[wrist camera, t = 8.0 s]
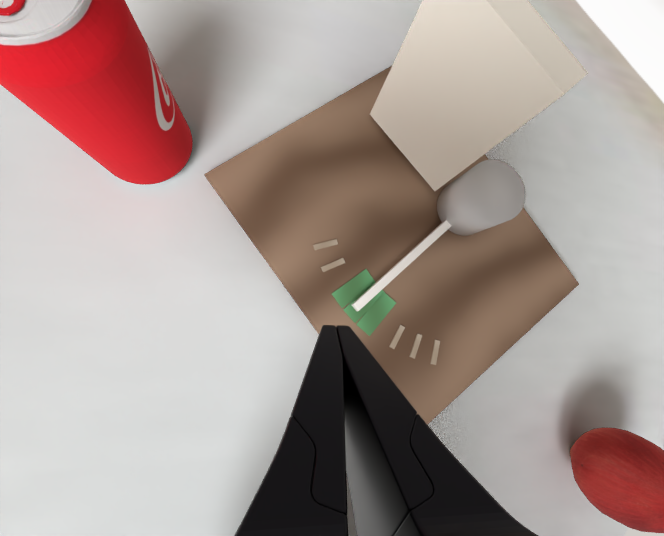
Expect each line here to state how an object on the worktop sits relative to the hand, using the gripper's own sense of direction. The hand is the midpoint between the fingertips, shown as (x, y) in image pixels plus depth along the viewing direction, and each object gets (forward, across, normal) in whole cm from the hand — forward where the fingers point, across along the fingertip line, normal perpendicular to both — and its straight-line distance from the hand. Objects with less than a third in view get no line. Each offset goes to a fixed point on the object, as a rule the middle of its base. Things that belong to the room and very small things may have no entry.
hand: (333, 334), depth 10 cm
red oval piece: (+4, -22, +16) cm, 28 cm away
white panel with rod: (+15, -6, +2) cm, 16 cm away
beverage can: (+18, +12, 0) cm, 21 cm away
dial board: (+14, -8, +4) cm, 17 cm away
